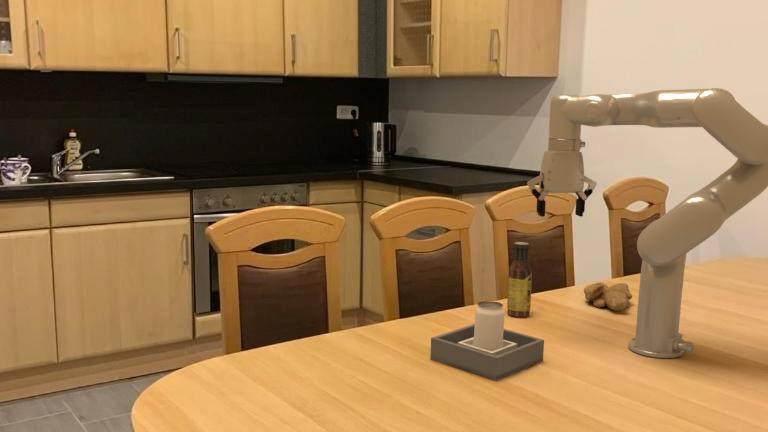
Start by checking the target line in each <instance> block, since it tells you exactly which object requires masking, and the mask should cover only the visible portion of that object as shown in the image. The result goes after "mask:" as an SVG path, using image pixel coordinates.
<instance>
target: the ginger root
mask: <svg viewBox="0 0 768 432" xmlns="http://www.w3.org/2000/svg"><path fill="white" fill-rule="evenodd" d="M629 289H630V288H629V284H627V283H622V282H621V283H615V284H613V285H611V286H608V285H607V284H606V283H604V282H596V283H592V284H588V285H587V286H585V287H584V289H583V293H584V295H585V296H584V297H585V299H586V301H590V302H593V306H594V307H595V308H598V307H599V308H604V307H607V308H608V309H609V310H613V311H615V312H616V311H621V310H625V309H626V308H627V307H628V306H629V305H630V300H632V299H633V293H631V292H630V290H629ZM599 308H598V309H599Z"/></svg>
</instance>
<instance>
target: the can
mask: <svg viewBox="0 0 768 432" xmlns="http://www.w3.org/2000/svg"><path fill="white" fill-rule="evenodd" d="M503 306H504V305H503V303H501V302H498V301H493V300H482V301H478V302H477V306H476V308H475V309H474V310H475V311H474V324H475V327H474V346H475V347H478V348H482V349H485V350H488V351H491V352H492V351H494V350H497V349H500V348H502V347H503V331H504V329H505V328H504V327H505V325H504V324H505V310H504V307H503Z"/></svg>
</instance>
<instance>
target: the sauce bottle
mask: <svg viewBox="0 0 768 432" xmlns="http://www.w3.org/2000/svg"><path fill="white" fill-rule="evenodd" d="M529 249H530V243H529V242H523V241H516V242H514V243H513V250H514V253H513V261H512V262H511V264H510V266H509V268H508V278H507V282H508V283H507V300H506V301H507V304H506V306H507V307H506V309H507V315H508V316H510V317H513V318H526V317H529V316H530V315H531V314H530V313H531V305H532V304H531V302H532V300H531V299H532V279H533V271H532V268H531V265H530V261H529Z"/></svg>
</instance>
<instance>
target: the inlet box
mask: <svg viewBox="0 0 768 432" xmlns="http://www.w3.org/2000/svg"><path fill="white" fill-rule="evenodd" d="M474 327H475V323H472V324H469V325H467V326H463V327H460V328H457V329H454V330H452V331H451V330H450V331H449V332H448V331H447V332H446V333H442V334H440V335H435V336H432V337H431V338H430V357H429V358H430V359H429V360H432V361H435V362H437V363H440V364H443V365H447V366H450V367H452V368H455V369H459V370H461V371H464V372H467V373H469V374H472V375H473V374H474V375H476V376H480V377H482V378H486V379H489V380H492V381H495V382H496V381H499V380H502V379H504V378H506V377H509V376H511V375H514V374H516V373H519V372H521V371H523V370H526V369H528V368H530V367H532V366H535V365H538V364H540V363H541V362H544V351H545V350H544V349H545V339H541V338H539V337H535V336H531V335H529V334H524V333H520V332H516V331H513V330H509V329H506V328H504V331H503V347H502V348H500V349H497V350H494V351H492V352H491V351H488V350H485V349H482V348H478V347H475V346H474Z"/></svg>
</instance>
